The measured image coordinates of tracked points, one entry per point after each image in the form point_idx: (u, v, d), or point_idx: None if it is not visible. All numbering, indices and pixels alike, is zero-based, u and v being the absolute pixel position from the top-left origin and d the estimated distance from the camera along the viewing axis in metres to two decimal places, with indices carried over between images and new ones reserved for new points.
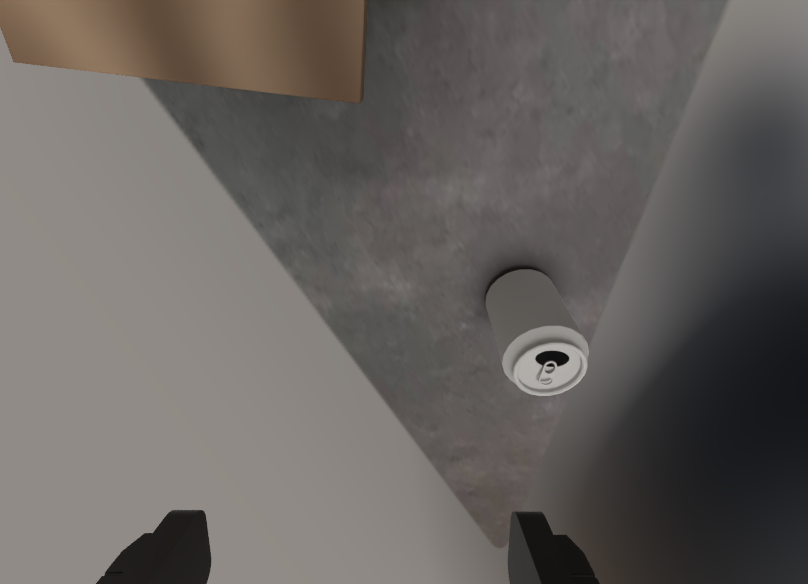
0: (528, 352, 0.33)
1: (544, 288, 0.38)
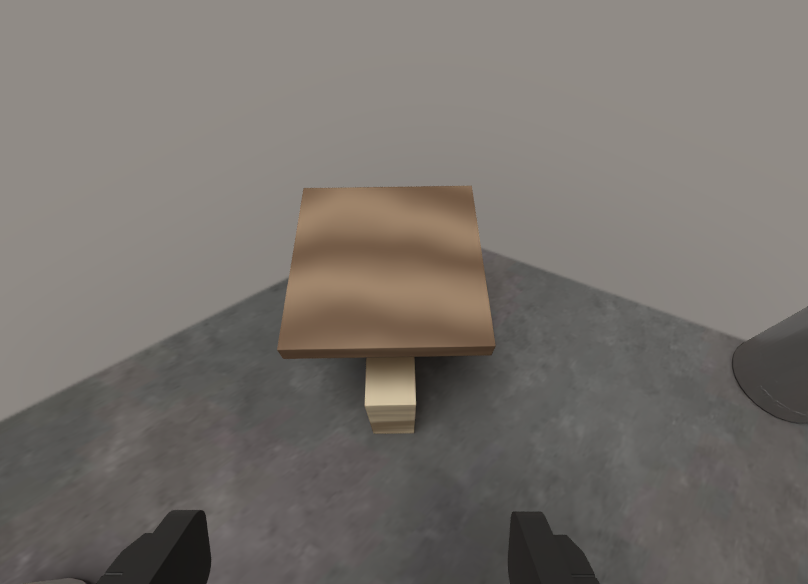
0: None
1: None
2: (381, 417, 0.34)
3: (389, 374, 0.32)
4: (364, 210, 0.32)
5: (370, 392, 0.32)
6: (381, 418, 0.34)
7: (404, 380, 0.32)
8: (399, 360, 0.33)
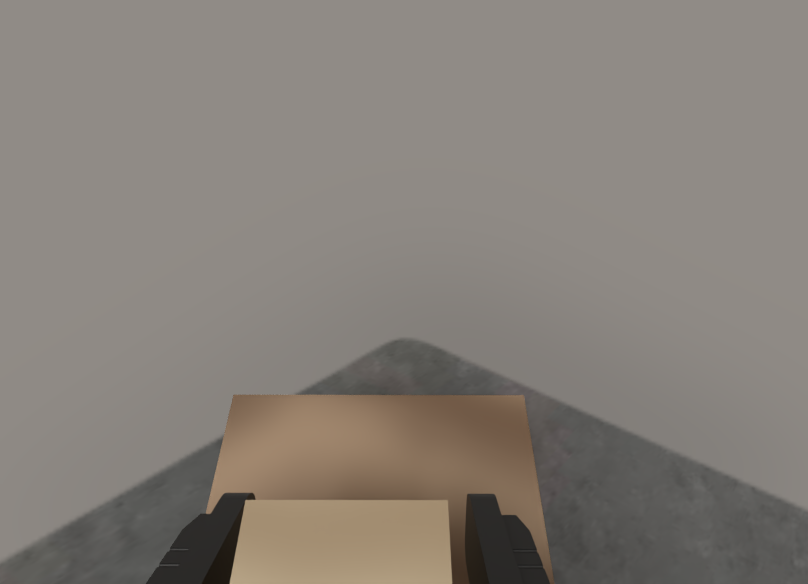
0: None
1: None
2: None
3: None
4: (336, 451, 0.18)
5: None
6: None
7: None
8: (382, 516, 0.08)
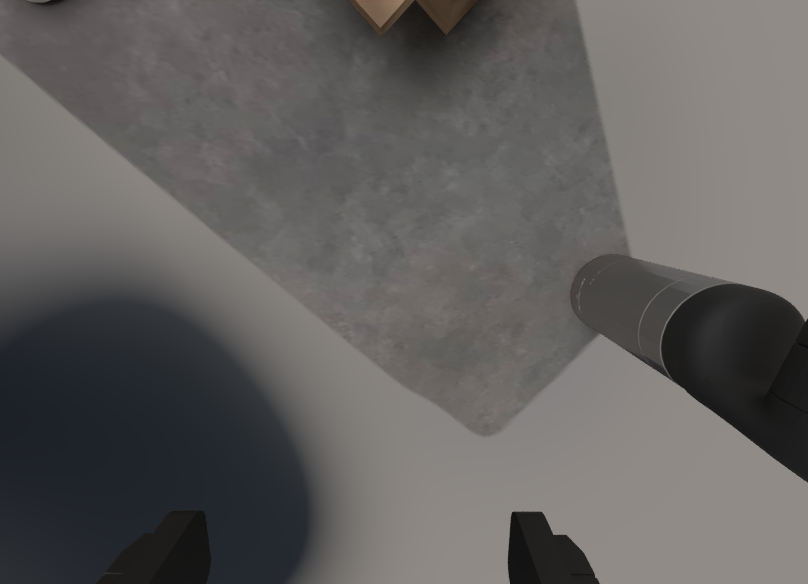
0: None
1: None
2: None
3: None
4: None
5: None
6: None
7: None
8: None
